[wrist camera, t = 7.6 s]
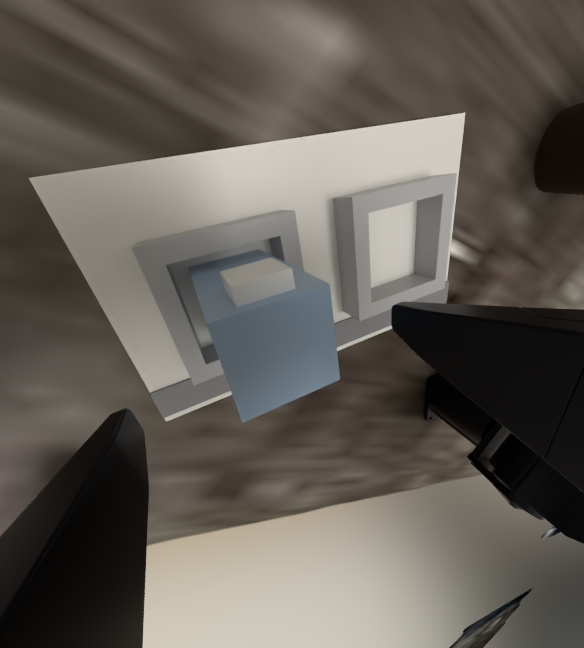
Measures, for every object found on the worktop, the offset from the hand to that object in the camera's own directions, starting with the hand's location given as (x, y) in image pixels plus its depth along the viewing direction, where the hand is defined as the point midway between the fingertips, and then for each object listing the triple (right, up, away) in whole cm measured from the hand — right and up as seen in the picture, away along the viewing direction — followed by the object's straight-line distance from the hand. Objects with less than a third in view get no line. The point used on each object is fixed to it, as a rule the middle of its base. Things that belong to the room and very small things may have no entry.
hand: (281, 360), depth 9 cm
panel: (+1, +5, +9) cm, 11 cm away
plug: (-3, +3, +7) cm, 8 cm away
